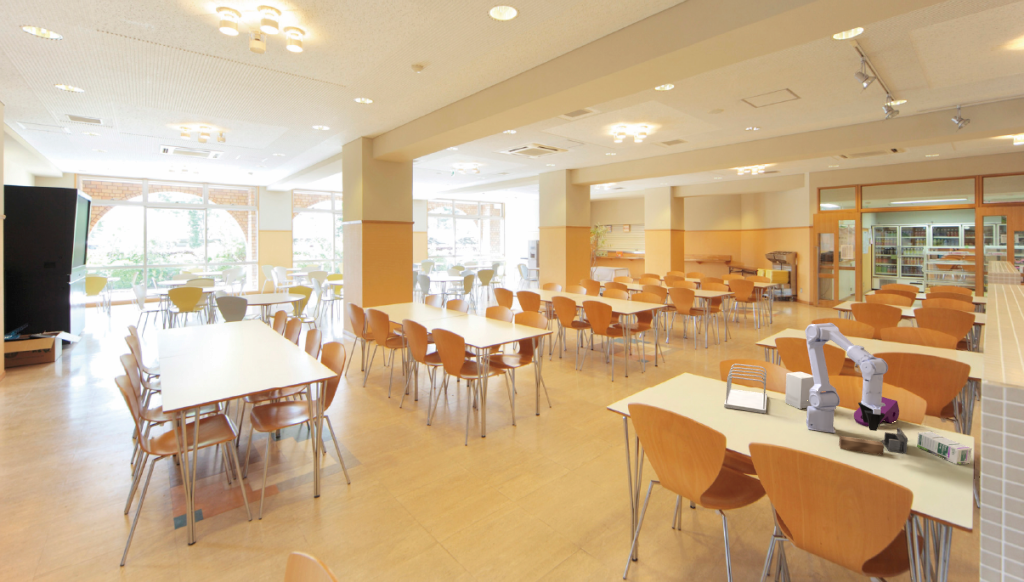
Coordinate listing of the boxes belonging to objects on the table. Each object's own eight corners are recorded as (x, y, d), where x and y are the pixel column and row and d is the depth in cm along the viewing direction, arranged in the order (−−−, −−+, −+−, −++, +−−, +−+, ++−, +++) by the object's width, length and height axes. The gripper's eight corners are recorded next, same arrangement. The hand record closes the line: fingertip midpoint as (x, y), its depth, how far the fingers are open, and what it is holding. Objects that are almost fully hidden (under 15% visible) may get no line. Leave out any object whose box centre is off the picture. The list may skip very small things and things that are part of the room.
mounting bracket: (876, 441, 196) (900, 416, 201) (873, 425, 193) (897, 400, 199) (852, 432, 204) (876, 409, 210) (848, 417, 202) (872, 394, 207)
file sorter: (765, 414, 212) (767, 381, 210) (723, 408, 220) (725, 376, 218) (766, 397, 233) (768, 366, 231) (728, 391, 242) (729, 362, 240)
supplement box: (815, 407, 218) (817, 376, 216) (800, 409, 216) (801, 378, 214) (799, 401, 227) (801, 371, 225) (784, 403, 224) (785, 372, 223)
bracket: (887, 451, 175) (889, 435, 174) (881, 440, 183) (882, 425, 183) (906, 453, 172) (907, 438, 171) (898, 442, 181) (899, 428, 180)
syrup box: (917, 432, 177) (958, 449, 163) (931, 431, 178) (973, 448, 163) (916, 446, 178) (956, 465, 163) (929, 445, 178) (971, 464, 164)
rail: (840, 449, 177) (841, 439, 177) (838, 445, 180) (839, 435, 180) (883, 456, 172) (884, 445, 171) (880, 452, 175) (881, 441, 174)
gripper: (892, 398, 165) (889, 435, 166) (879, 386, 178) (877, 420, 179) (867, 396, 167) (865, 432, 169) (856, 384, 181) (854, 418, 182)
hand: (869, 426), depth 174 cm, fingers open, 7 cm apart
